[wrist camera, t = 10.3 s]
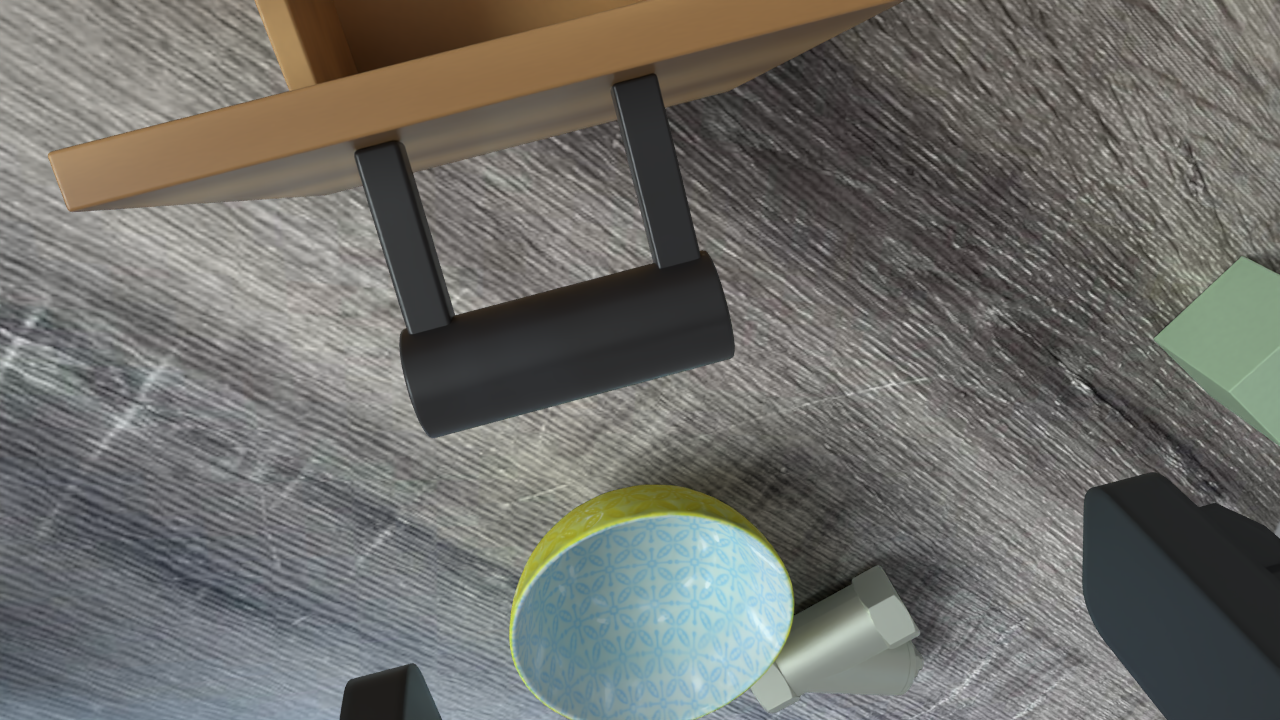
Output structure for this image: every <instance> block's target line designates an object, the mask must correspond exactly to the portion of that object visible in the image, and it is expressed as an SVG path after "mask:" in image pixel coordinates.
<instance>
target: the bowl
mask: <svg viewBox="0 0 1280 720" xmlns="http://www.w3.org/2000/svg"><path fill="white" fill-rule="evenodd" d="M793 617H794V592H793V587H792V583H791V579H790V576H789V574H788V571H787V569H786V567H785V565H784V563H783V562H782V560H781V558H780V557H779V555H778V554H777V552H776V550H775V549H774V548H773V546H772V545H771V544H770V543H769V542H768V540H767V539H766V538H765V536H764V535H763V534H762V533H761V532H760V531H759V530H758V529H757V528H756V527H755V526H754V525H753V524H752V523H751V522H749V521H748V520H747V519H746V518H745V517H744V516H743V515H741V514H740V513H739V512H737V511H736V510H735V509H733V508H732V507H730V506H729V505H727V504H725V503H723V502H721V501H719V500H718V499H716V498H714V497H711V496H709V495H706V494H704V493H701V492H699V491H694V490H691V489H688V488H684V487H679V486H673V485H637V486H631V487H627V488H622V489H618V490H613V491H610V492H607V493H604V494H601V495H599V496H597V497H595V498H593V499H591V500H590V501H587V502H585V503H584V504H582V505H580V506H578V507H576V508H575V509H573V510H572V511H571V512H569V513H568V514H567V515H566V516H564V517H563V518H562V519H561V520H560V521H559V522H558V523H557V524H556V525H554V526H553V527H552V529H551V530H550V531H549V532H548V533H547V534H546V535H545V536H544V537H543V539H542V540H541V541H540V542H539V544H538V545H537V547H536V548H535V549H534V551H533V553H532V554H531V556H530V558H529V560H528V562H527V564H526V566H525V568H524V570H523V573H522V575H521V578H520V580H519V583H518V585H517V589H516V592H515V595H514V600H513V604H512V609H511V618H510V630H509V640H510V649H511V654H512V658H513V661H514V664H515V667H516V669H517V671H518V673H519V675H520V677H521V679H522V680H523V682H524V683H525V684H526V686H527V687H528V689H529V690H530V691H531V692H532V693H533V694H534V695H535V697H536V698H537V699H539V700H540V701H541V702H542V703H543V704H544V705H546V706H548V707H549V708H550V709H552V710H553V711H555V712H557V713H558V714H560V715H562V716H564V717H566V718H568V719H571V720H695V719H698V718H701V717H703V716H705V715H707V714H709V713H711V712H713V711H716V710H718V709H720V708H721V707H723V706H725V705H727V704H728V703H730V702H731V701H733V700H734V699H736V698H737V697H739V696H740V695H742V694H743V693H744V692H746V691H747V690H748V689H749V688H750V687H752V686H753V685H754V684H755V683H756V682H757V681H758V680H759V679H760V678H761V677H762V676H763V675H764V674H765V673H766V672H767V670H768V669H769V668H770V667H771V666H772V664H773V663H774V662H775V660H776V659H777V657H778V655H779V654H780V652H781V651H782V649H783V647H784V645H785V643H786V641H787V638H788V636H789V634H790V630H791V627H792V622H793Z"/></svg>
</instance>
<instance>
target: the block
mask: <svg viewBox="0 0 1280 720" xmlns="http://www.w3.org/2000/svg"><path fill="white" fill-rule="evenodd" d="M1154 341H1155V342H1156V343H1157V344H1158V345H1159V346H1160V347H1161V348H1162V349H1163V350H1164V351H1165V352H1167V353H1168V354H1169V355H1170V356H1171V357H1172V358H1173V359H1174V360H1175V361H1176V362H1177V363H1178V364H1179V365H1180V366H1181V367H1182V368H1183V369H1184V370H1185V371H1186V372H1187V373H1188V374H1189V375H1190V376H1191V377H1192V378H1193V379H1194V380H1195V381H1196V382H1197V383H1198V384H1199V385H1200V386H1201V387H1202V388H1203V389H1204V390H1205V391H1206V392H1207V393H1208V394H1209V395H1210V396H1211V397H1212V398H1214V399H1215V400H1217V401H1218V402H1219V403H1221V404H1222V405H1223V406H1225V407H1226V408H1228V409H1229V410H1230V411H1232V412H1233V413H1234V414H1236V415H1237V416H1239V417H1240V418H1241V419H1243V420H1244V421H1246V422H1247V423H1248V424H1250V425H1251V426H1252V427H1254V428H1255V429H1257V430H1258V431H1259V432H1261V433H1262V434H1264V435H1265V436H1266V437H1268V438H1269V439H1270V440H1272V441H1273V442H1275V443H1276V444H1277V445H1279V446H1280V275H1279V274H1277V273H1275V272H1273V271H1271V270H1269V269H1267V268H1266V267H1264V266H1262V265H1260V264H1258V263H1256V262H1254V261H1252V260H1250V259H1248V258H1246V257H1244V256H1242V257H1240V258H1239V259H1238V260H1237V261H1236V262H1235V263H1234V264H1233V265H1232V266H1231V267H1230V268H1229V269H1228V270H1227V271H1225V272H1224V273H1223V274H1222V275H1221V276H1220V277H1219V278H1218V279H1217V280H1216V281H1215V282H1214V283H1213V284H1212V285H1210V286H1209V287H1208V288H1207V289H1206V290H1205V291H1204V292H1203V293H1202V294H1201V295H1200V296H1199V297H1198V298H1196V299H1195V300H1194V301H1193V302H1192V303H1191V304H1190V305H1189V306H1188V307H1187V308H1186V309H1185V310H1184V311H1183V312H1181V313H1180V314H1179V315H1178V316H1177V317H1176V318H1175V319H1174V320H1173V321H1172V322H1171V323H1170V324H1169V325H1168V326H1166V327H1165V328H1164V329H1163V330H1162V331H1161V332H1160V333H1159V334H1158V335H1157V336H1156V337H1155V338H1154Z"/></svg>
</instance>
